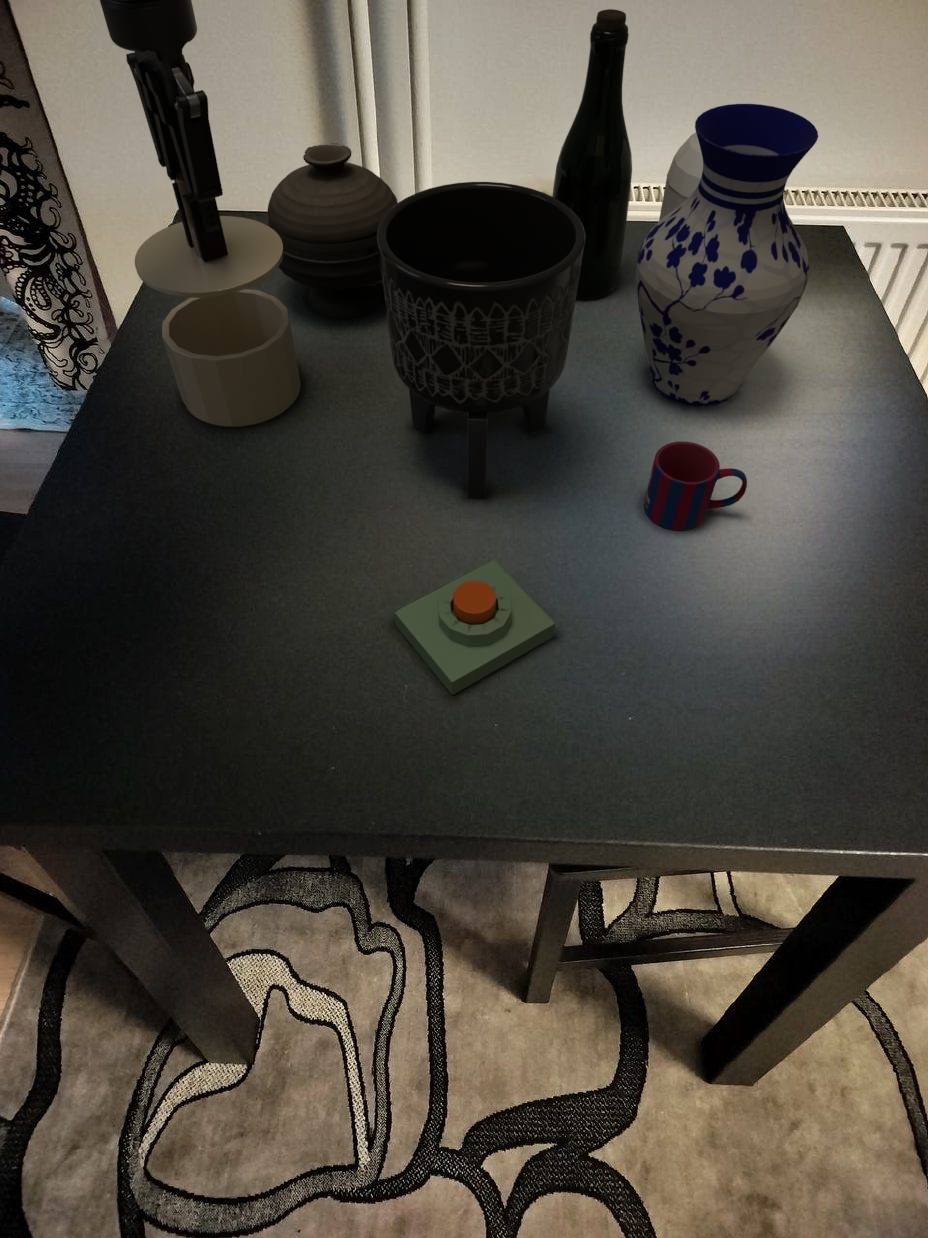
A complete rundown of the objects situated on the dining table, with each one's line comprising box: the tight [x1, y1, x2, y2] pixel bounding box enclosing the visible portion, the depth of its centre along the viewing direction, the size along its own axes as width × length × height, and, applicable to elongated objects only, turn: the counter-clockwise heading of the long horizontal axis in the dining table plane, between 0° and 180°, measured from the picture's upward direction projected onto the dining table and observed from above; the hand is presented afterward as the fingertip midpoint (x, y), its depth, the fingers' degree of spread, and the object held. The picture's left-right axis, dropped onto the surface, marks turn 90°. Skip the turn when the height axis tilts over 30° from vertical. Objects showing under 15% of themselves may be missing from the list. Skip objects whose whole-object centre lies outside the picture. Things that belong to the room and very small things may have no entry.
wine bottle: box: [551, 8, 633, 300], centre depth 110 cm, size 10×10×33 cm
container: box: [658, 132, 703, 222], centre depth 117 cm, size 14×13×20 cm
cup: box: [643, 441, 748, 531], centre depth 92 cm, size 7×10×7 cm
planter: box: [377, 181, 586, 500], centre depth 91 cm, size 20×20×26 cm
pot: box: [267, 142, 399, 318], centre depth 113 cm, size 18×18×20 cm
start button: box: [453, 581, 496, 625], centre depth 81 cm, size 4×4×2 cm
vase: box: [635, 103, 819, 408], centre depth 97 cm, size 19×19×30 cm
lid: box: [134, 172, 284, 298], centre depth 89 cm, size 16×16×9 cm
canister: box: [161, 288, 302, 428], centre depth 104 cm, size 15×15×10 cm
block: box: [394, 559, 556, 696], centre depth 83 cm, size 12×10×4 cm
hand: (208, 249), depth 91 cm, fingers closed on lid, 3 cm apart
